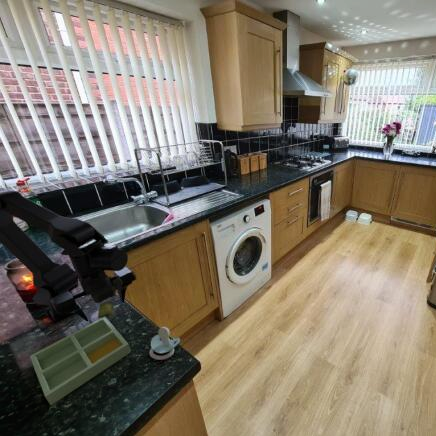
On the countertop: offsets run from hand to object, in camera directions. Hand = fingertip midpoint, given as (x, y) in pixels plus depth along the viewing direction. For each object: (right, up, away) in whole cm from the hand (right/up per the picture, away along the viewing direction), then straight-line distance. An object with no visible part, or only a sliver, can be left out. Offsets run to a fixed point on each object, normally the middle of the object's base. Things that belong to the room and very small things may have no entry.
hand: (105, 311), depth 73 cm
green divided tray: (+4, -7, -13) cm, 15 cm away
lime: (0, -1, +1) cm, 2 cm away
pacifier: (+23, -6, -11) cm, 26 cm away
